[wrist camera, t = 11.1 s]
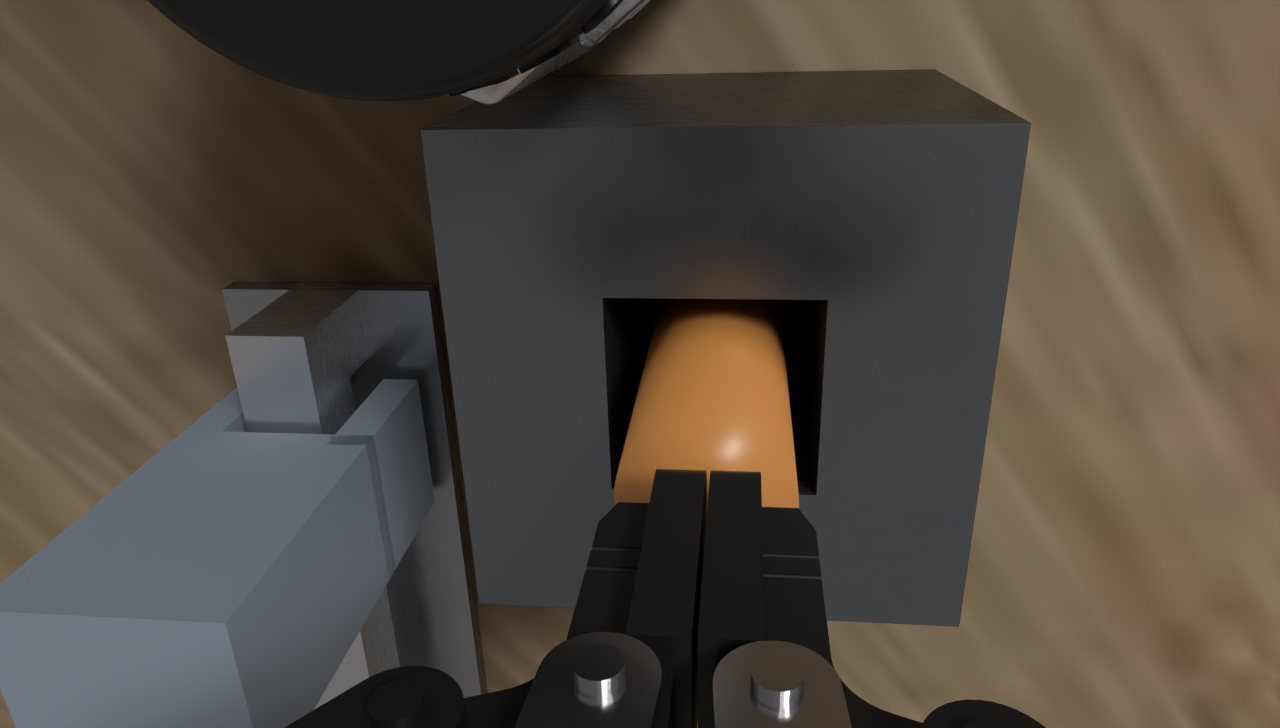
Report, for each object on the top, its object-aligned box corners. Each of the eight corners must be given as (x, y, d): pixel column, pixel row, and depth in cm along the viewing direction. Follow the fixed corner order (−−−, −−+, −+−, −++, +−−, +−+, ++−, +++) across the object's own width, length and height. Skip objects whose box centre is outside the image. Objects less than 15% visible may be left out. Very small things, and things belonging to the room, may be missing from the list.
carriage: (276, 495, 27) (33, 769, 18) (249, 376, 26) (-33, 610, 17) (434, 501, 27) (268, 787, 18) (418, 380, 25) (225, 623, 16)
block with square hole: (552, 429, 27) (479, 603, 19) (524, 76, 23) (420, 130, 15) (905, 438, 26) (968, 626, 18) (943, 69, 22) (1043, 123, 14)
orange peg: (660, 368, 22) (617, 573, 14) (658, 256, 20) (610, 417, 13) (778, 371, 21) (795, 581, 14) (782, 256, 20) (802, 421, 13)
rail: (349, 807, 34) (301, 907, 31) (232, 282, 26) (148, 334, 22) (502, 818, 34) (473, 922, 30) (435, 283, 25) (383, 338, 22)
